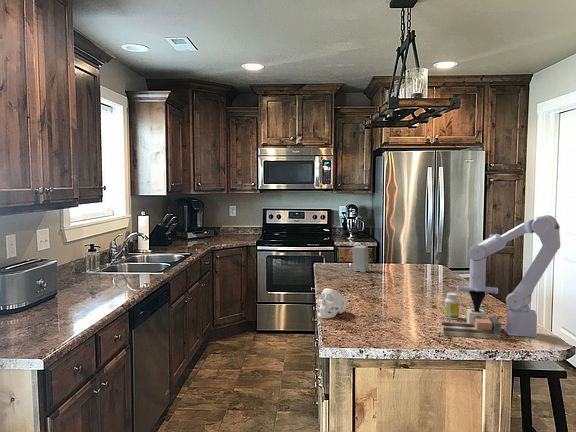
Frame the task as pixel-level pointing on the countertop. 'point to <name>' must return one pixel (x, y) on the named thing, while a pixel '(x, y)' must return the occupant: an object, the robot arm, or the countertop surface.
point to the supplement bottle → (451, 306)
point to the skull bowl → (331, 303)
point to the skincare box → (360, 258)
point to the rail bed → (472, 330)
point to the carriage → (483, 324)
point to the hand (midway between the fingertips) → (476, 310)
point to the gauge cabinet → (474, 316)
